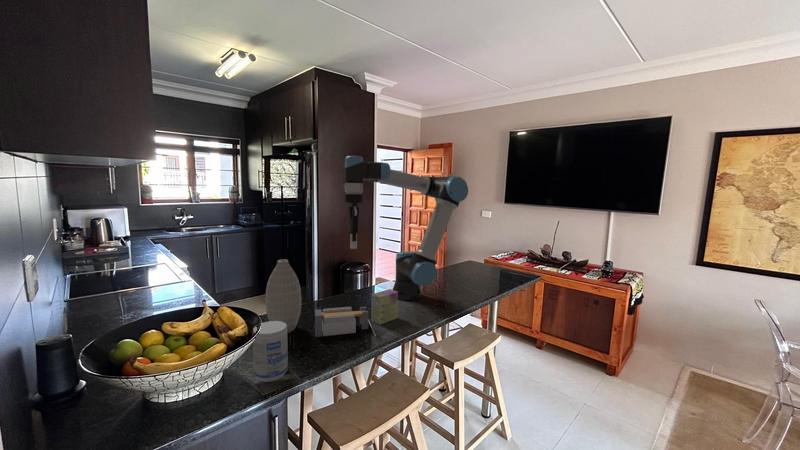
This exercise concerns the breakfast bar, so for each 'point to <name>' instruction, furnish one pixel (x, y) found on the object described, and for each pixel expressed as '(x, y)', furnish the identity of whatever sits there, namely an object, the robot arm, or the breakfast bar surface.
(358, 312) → the strap
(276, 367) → the supplement tub
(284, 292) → the vase
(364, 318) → the base
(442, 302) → the breakfast bar surface
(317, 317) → the lock
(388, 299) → the box
